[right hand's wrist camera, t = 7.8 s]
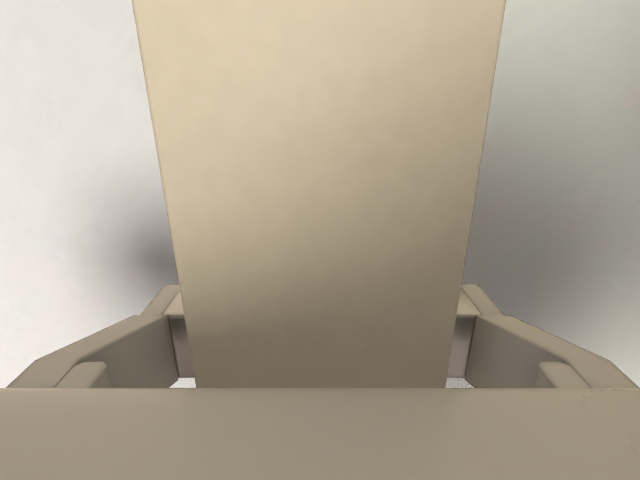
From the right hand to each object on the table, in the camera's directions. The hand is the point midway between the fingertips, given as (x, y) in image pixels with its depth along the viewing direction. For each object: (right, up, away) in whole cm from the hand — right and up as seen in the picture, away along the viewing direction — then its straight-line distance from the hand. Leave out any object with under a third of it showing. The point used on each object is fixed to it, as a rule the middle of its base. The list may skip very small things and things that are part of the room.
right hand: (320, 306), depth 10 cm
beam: (0, +19, -5) cm, 20 cm away
